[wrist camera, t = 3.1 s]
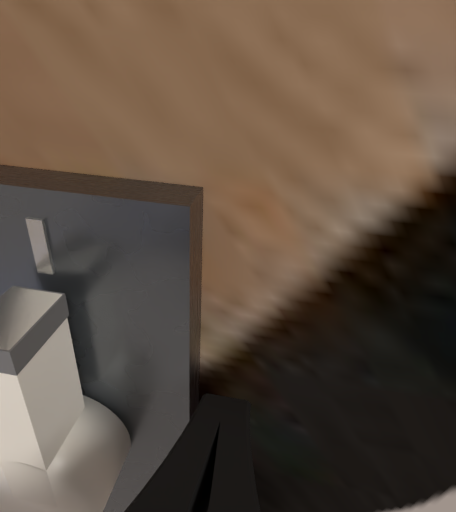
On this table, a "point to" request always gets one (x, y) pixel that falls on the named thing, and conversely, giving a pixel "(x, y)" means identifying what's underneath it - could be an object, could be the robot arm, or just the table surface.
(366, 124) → the table surface
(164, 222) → the base plate
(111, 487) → the white long bulbous piece
